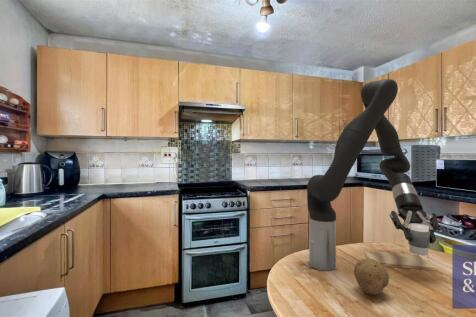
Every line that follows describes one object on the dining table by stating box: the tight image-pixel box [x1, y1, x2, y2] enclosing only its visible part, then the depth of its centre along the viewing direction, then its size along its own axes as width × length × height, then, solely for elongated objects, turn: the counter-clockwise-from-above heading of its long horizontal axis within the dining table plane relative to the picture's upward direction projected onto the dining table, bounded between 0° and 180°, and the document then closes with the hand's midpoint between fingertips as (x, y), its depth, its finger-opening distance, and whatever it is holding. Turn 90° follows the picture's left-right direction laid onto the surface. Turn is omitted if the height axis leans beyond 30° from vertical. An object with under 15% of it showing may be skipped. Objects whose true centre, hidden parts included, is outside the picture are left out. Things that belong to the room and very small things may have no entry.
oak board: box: [363, 250, 436, 271], centre depth 94 cm, size 20×11×1 cm, turn 76°
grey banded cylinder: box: [407, 223, 431, 257], centre depth 81 cm, size 6×6×9 cm
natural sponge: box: [353, 257, 390, 296], centre depth 72 cm, size 9×9×10 cm
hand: (421, 241), depth 79 cm, fingers closed on grey banded cylinder, 5 cm apart
